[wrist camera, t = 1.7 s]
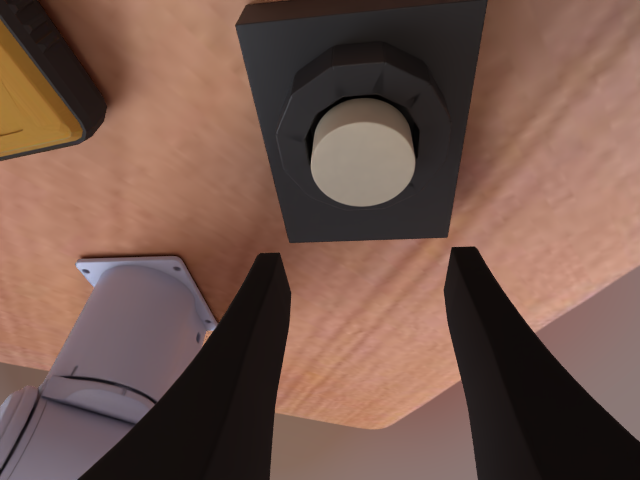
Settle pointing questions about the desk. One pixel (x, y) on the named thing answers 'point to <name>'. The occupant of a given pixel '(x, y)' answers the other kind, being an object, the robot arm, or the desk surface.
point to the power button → (362, 152)
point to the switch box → (363, 82)
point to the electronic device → (41, 85)
